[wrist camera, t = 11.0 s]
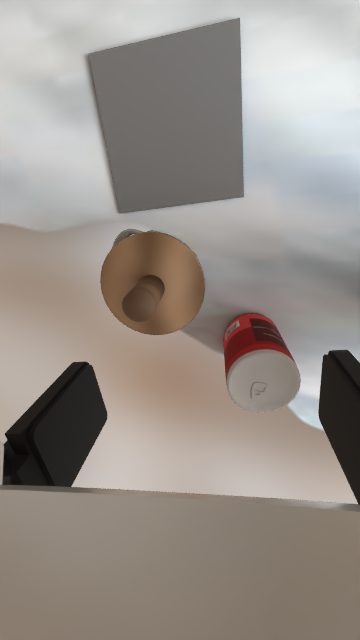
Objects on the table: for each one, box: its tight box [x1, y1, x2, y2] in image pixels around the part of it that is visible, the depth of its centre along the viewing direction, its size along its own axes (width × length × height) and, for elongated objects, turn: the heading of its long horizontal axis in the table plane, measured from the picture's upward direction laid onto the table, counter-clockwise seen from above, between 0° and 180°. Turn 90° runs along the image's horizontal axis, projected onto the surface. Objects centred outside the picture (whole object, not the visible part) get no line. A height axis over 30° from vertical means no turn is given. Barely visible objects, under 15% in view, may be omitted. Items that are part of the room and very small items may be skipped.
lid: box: [101, 232, 205, 335], centre depth 25 cm, size 11×11×6 cm
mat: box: [88, 18, 244, 213], centre depth 28 cm, size 15×15×1 cm
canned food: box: [223, 313, 301, 413], centre depth 32 cm, size 8×8×11 cm
